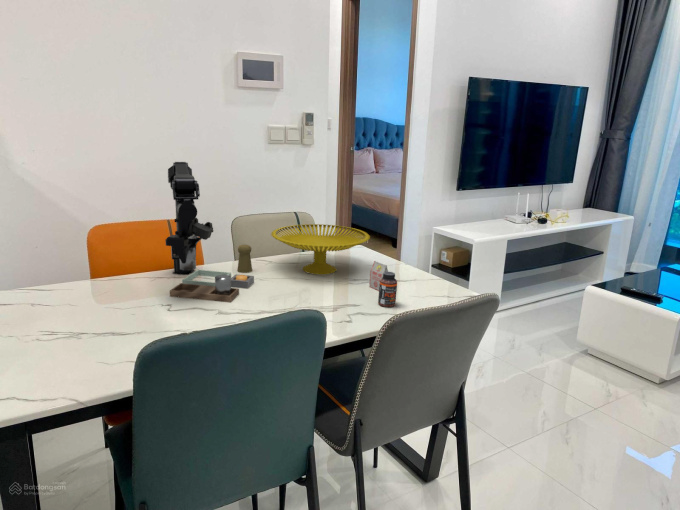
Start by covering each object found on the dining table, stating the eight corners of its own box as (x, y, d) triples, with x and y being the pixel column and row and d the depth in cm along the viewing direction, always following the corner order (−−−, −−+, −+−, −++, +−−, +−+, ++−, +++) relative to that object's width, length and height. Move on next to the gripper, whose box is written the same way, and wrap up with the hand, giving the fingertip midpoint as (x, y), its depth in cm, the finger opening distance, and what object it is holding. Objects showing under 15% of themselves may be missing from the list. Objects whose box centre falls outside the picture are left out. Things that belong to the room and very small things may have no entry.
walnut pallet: (169, 299, 171) (169, 290, 171) (181, 291, 179) (180, 283, 178) (230, 305, 168) (230, 296, 168) (239, 296, 176) (239, 288, 175)
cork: (254, 270, 207) (254, 243, 204) (250, 274, 201) (250, 247, 198) (239, 269, 207) (239, 242, 204) (235, 273, 201) (234, 246, 198)
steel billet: (177, 269, 171) (176, 249, 169) (184, 265, 176) (183, 245, 174) (192, 270, 170) (191, 250, 168) (198, 266, 175) (197, 246, 173)
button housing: (228, 289, 183) (228, 280, 182) (235, 283, 190) (235, 274, 189) (247, 291, 182) (247, 281, 181) (253, 285, 189) (253, 275, 188)
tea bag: (376, 285, 194) (378, 260, 192) (388, 290, 189) (390, 264, 187) (369, 287, 192) (370, 261, 190) (380, 292, 187) (382, 266, 184)
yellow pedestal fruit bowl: (375, 261, 226) (377, 228, 222) (358, 290, 188) (360, 250, 184) (288, 252, 235) (289, 220, 231) (255, 278, 197) (255, 240, 193)
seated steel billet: (212, 298, 171) (212, 278, 169) (218, 293, 175) (218, 274, 174) (227, 300, 170) (227, 280, 168) (233, 295, 175) (233, 275, 173)
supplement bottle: (384, 308, 171) (386, 276, 168) (374, 302, 176) (376, 271, 173) (398, 306, 174) (401, 274, 171) (389, 300, 179) (391, 269, 176)
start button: (234, 285, 184) (234, 277, 183) (238, 282, 188) (238, 274, 187) (245, 286, 184) (245, 278, 183) (248, 283, 187) (248, 275, 187)
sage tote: (182, 288, 182) (182, 280, 182) (198, 277, 195) (197, 269, 194) (217, 291, 181) (217, 283, 180) (231, 280, 193) (231, 272, 192)
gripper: (197, 222, 158) (199, 270, 162) (219, 212, 176) (220, 256, 180) (163, 219, 160) (165, 267, 164) (189, 210, 178) (190, 253, 182)
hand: (187, 261), depth 172 cm, fingers closed on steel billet, 5 cm apart
